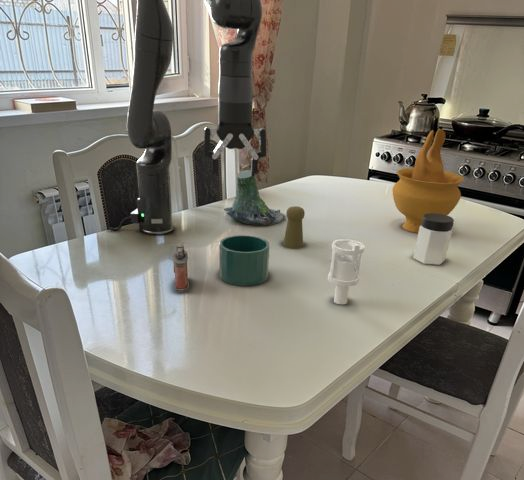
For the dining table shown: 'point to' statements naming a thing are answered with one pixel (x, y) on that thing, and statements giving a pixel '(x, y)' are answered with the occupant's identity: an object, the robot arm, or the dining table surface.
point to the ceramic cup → (244, 260)
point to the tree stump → (251, 203)
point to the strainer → (345, 268)
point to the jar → (433, 238)
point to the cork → (294, 228)
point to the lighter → (181, 269)
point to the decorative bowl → (426, 185)
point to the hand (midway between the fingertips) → (234, 175)
